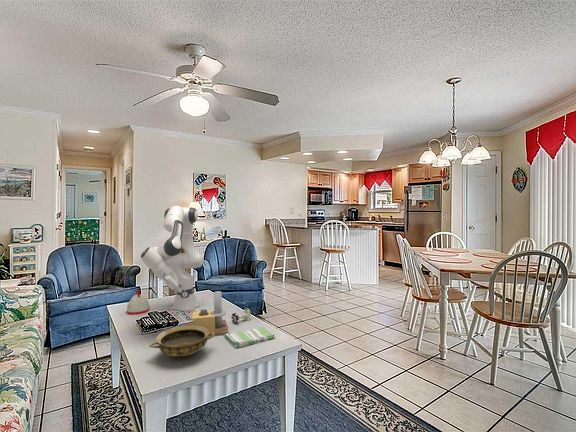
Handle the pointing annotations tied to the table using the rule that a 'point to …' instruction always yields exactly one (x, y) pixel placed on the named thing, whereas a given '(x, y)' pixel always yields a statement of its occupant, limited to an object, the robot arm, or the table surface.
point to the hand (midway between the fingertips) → (181, 289)
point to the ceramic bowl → (182, 340)
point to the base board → (216, 329)
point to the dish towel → (248, 337)
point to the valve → (241, 316)
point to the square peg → (203, 312)
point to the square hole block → (211, 315)
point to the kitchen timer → (137, 304)
